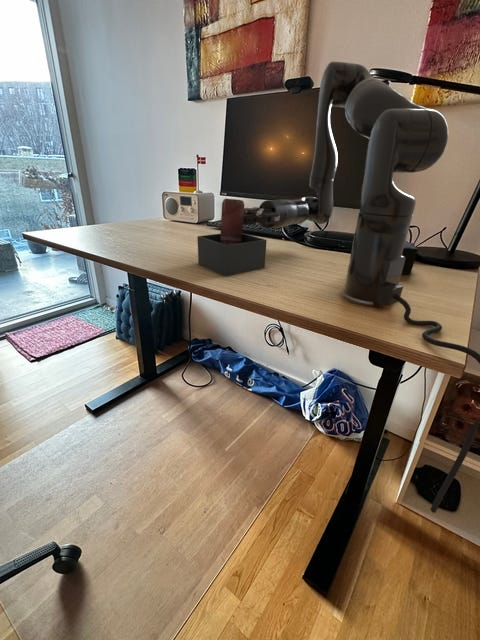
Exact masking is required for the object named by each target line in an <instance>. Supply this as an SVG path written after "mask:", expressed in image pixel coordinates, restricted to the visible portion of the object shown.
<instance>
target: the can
mask: <svg viewBox="0 0 480 640" xmlns="http://www.w3.org/2000/svg"><path fill="white" fill-rule="evenodd" d="M244 208H245V202H244V200H242V199H236V198H235V199H234V198H223V201H222V202H221V213H220V215H221V216H220V233H219V234H220V243H221V244H224V245H230V244H237V243H242V233H243V232H244V225H243V224H242V216H243V215H244ZM223 212H224V216H223Z"/></svg>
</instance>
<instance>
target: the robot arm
mask: <svg viewBox="0 0 480 640" xmlns="http://www.w3.org/2000/svg"><path fill="white" fill-rule="evenodd" d="M317 103H318V104H317V115H316V129H315V144H314V156H313V160H312V167H311V172H310V177H309V187H310V188H311V189H313V190H314V191H315V192H316V196H317V197H315V196H303V197H300V198H298V199H286V198H285V199H284V198H283V199H281V198H280V199H267V200H264V201H262V202H261V203H260V205H259V206H253V207H244V215H243V216H242V224H243V226H247V225H249V226H250V225H256V226H261V227H263V228H264V229H268V230H269V229H276V228H283V227H288V226H292V225H300V224H302V223H305V222H306V221H310V222H313V223H315V224H320V225H323V224H325V223H327V222H328V221H330V218H331V217H332V215H333V211H334V181H335V180H334V179H335V175H336V172H337V167H338V159H339V158H338V150H337V145H336V143H335V139H334V135H333V132H332V127H331V109H332V107H333V108H342V109H343V108H344V114H345V118H346V121H347V123H348V124H349V126H350V127H351V128H352V129H353V130H354V131H355V132H356V133H357V134H358V135H360V136H361V137H364V138H366V139H368V144H367V148H366V149H367V150H366V157H365V165H364V172H363V178H362V185H361V191H360V205H359V211H358V216H357V221H356V225H355V231H354V236H353V241H352V247H351V250H350V251H351V252H350V257H349V261H348V267H347V272H346V278H345V284H344V288H343V290H342V297H343V298H344V299H345V300H347V301H348V302H350V303H353V304H356V305H359V306H365V307H370V308H371V307H372V308H375V309H380V308H383V307H385V306H387V307H389V306H391V305H394V304H396V303H400V304H401V305H402V306H403V308H404V310H405V311H404V313H403V320H404V321H405V322H406V323H407V324H410V325H412V326H420V327H421V326H422V327H423V326H431V327H432V328H429V329H426V330H424V331H423V332H422V333H421V337H422V339H423V340H424V341H425V342H426V343H428V344H430V345H433V346H436V347H440V348H446V349H450V350H454V351H457V352H461V353H464V354H466V355H468V356H471V358H473V359H475V361H477V362H478V364H479V365H480V353H478V352H477V351H475V350H474V349H472V348H470V347H467V346H464V345H461V344H458V343H452V342H447V341H443V340H439V339H435V338H432V337H431V336H430V335H434V334H437V333H439V332H441V331H442V330H443V326H442V324H441V323H439V322H438V321H434V320H415V319H413V318H410V315H411V311H412V309H411V305H410V304H409V303H408V301H407V300H405V299H404V298H403V297H401V296H402V292H403V290H404V285H400V281H401V277H402V274H401V273H402V269H403V266H404V262H405V257H404V256H402V253H403V249H404V245H405V241H407V237H408V234H409V230H410V227H411V223H412V219H413V215H414V212H415V210H416V209H415V208H416V205H417V204H416V203H417V201H416V199H415V197H413V196H412V195H409V194H407V193H405V192H403V191H402V190H400V189H399V188H398V187H397V186H396V185H395V183H394V174H395V173H400V174H401V173H402V174H413V173H414V174H415V173H419V172H423V171H426V170H428V169H430V168H431V167H433V166H434V165H435V164H436V163H437V162H438V161H439V160H440V159H441V157H442V156H443V154H444V153H445V150H446V149H447V148H446V147H447V145H448V140H449V128H448V123H447V121H446V119H445V117H444V116H443V114H442V113H440V112H439V111H438V110H435V109H431V108H427V107H424V106H421V105H418V104H416V103H414V102H412V101H410V100H409V99H407V97H405V96H404V95H402V94H401V93H399V92H398V91H396V90H395V89H394V88H392V87H391V86H390V85H388V84H387V83H385V82H384V81H382V80H381V79H378V78H376V77H373V76H372V74H371V73H370V71H369V70H368V68H366V66H364V65H363V64H359V63H353V62H345V61H331V62H329V63H328V64H327V65H326V67H325V69H324V71H323V74H322V77H321V82H320V87H319V93H318V102H317ZM223 216H224V212H223ZM479 424H480V416H479V417H478V418H477V420H476V421H475V422H474V423H473V424H472V425H471V427H470V428H469V429H468V431H467V434H466V437H465V440H464V442H463V444H462V446H461V449H460V451H459V452H458V455H457V457H456V459H455V461H454V463H453V465H452V466H451V468H450V470H449V472H448V474H447V475H446V478H445V479H444V481H443V483H442V484H441V486H440V488H439V490H438V492H437V494H436V496H435V498H434V499H433V502H432V504H431V506H430V512H432V513H434V514H435V513H437V511H438V508H439V507H440V504H441V502H442V500H443V498H444V496H445V495H446V494H447V491H448V490H449V487H450V486H451V484H452V482H453V481H454V479H455V478H456V475H457V473H458V472H459V470H460V468H461V466H462V464H463V463H464V462H465V459H466V457H467V455H468V453H469V451H470V448H471V446H472V444H473V441H474V439H475V437H476V435H477V430H478V429H479Z"/></svg>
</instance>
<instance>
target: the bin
mask: <svg viewBox="0 0 480 640" xmlns="http://www.w3.org/2000/svg"><path fill="white" fill-rule="evenodd" d="M196 237H197V258H198V259H197V260H198V261H197V262H198V263H197V264H198V265H201V266H203V267H204V268H207V269H209V270H211V271H213V272H215V273H217V274H220V275H221V276H223V277H228V276H229V277H230V276H232V275H238V274H244V273H247V272H252V271H257V270H262V269H265V268H266V257H267V256H266V255H267V242H268V241H267V239H264V238H261V237H257V236H255V235H252V234H251V235H250V234H248V233H247V234H246V233H243V232H242V243H237V244H230V245H224V244H221V243H220V233H213V234H212V233H211V234H205V235H197V236H196Z"/></svg>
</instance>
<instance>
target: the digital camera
mask: <svg viewBox="0 0 480 640" xmlns="http://www.w3.org/2000/svg"><path fill="white" fill-rule="evenodd" d="M418 250H419V248H418V247H416V245H415V243H414V242H409V241H407V240H406V241H405V245H404V249H403V253H402V256H404V257H405V262H404V266H403V269H402V273H401V275H411V274H412V271H413V267H414V264H415V260H416V258H417V254H418V252H419V251H418Z"/></svg>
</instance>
